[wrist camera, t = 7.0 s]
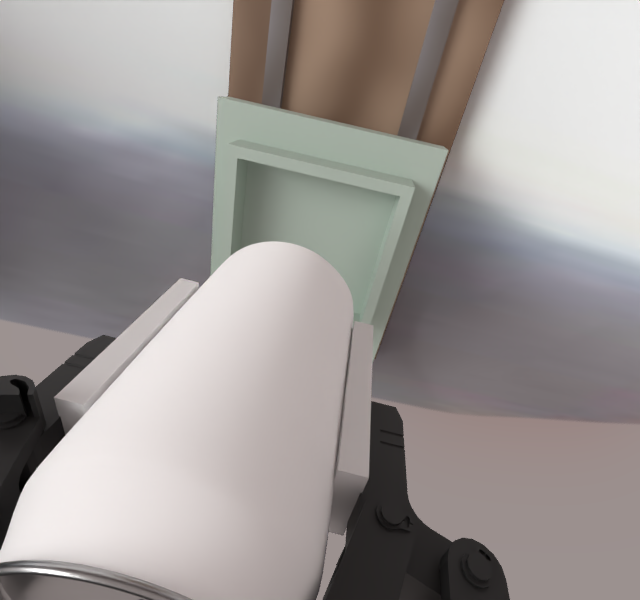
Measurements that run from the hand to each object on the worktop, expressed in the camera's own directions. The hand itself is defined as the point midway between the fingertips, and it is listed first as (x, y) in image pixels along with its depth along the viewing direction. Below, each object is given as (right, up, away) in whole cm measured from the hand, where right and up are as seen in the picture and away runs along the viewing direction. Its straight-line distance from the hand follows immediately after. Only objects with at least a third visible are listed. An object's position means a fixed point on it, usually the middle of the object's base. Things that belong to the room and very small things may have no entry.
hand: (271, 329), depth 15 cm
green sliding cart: (+1, +5, +13) cm, 14 cm away
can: (0, +1, +2) cm, 2 cm away
